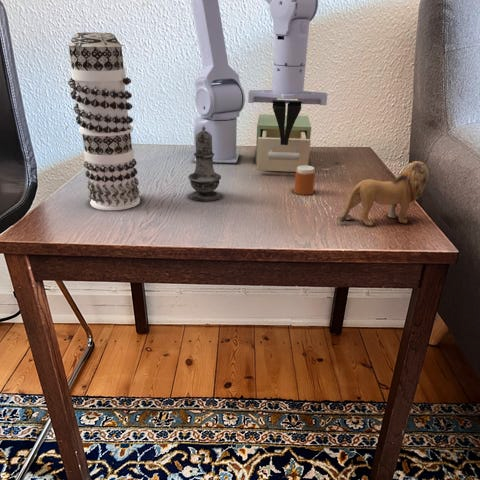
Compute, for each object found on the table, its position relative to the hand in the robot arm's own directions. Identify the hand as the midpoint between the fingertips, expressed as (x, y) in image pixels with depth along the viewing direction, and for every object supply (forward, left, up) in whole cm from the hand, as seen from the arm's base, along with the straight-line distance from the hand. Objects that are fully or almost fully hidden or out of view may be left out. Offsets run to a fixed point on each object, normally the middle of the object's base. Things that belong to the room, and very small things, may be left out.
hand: (284, 143), depth 91 cm
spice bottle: (+4, -8, -7) cm, 12 cm away
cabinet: (0, +18, -7) cm, 19 cm away
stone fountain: (-14, -13, -7) cm, 21 cm away
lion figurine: (+16, -21, -7) cm, 28 cm away
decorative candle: (-29, -18, -7) cm, 35 cm away
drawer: (0, +6, -6) cm, 8 cm away
